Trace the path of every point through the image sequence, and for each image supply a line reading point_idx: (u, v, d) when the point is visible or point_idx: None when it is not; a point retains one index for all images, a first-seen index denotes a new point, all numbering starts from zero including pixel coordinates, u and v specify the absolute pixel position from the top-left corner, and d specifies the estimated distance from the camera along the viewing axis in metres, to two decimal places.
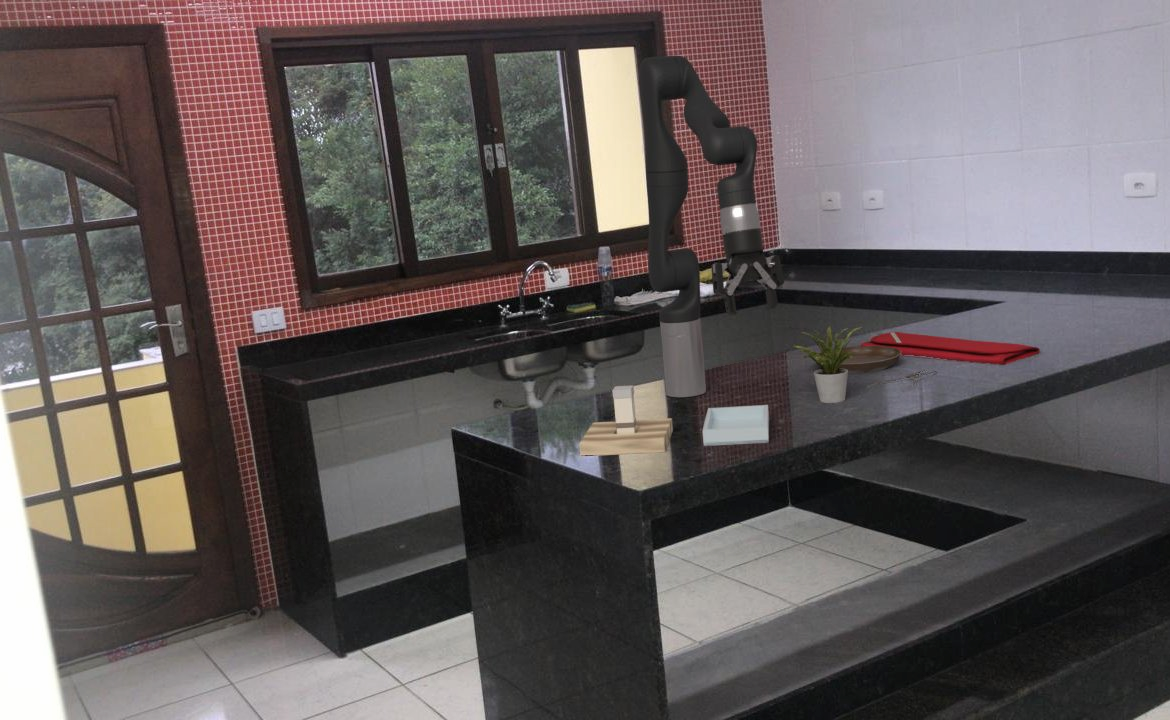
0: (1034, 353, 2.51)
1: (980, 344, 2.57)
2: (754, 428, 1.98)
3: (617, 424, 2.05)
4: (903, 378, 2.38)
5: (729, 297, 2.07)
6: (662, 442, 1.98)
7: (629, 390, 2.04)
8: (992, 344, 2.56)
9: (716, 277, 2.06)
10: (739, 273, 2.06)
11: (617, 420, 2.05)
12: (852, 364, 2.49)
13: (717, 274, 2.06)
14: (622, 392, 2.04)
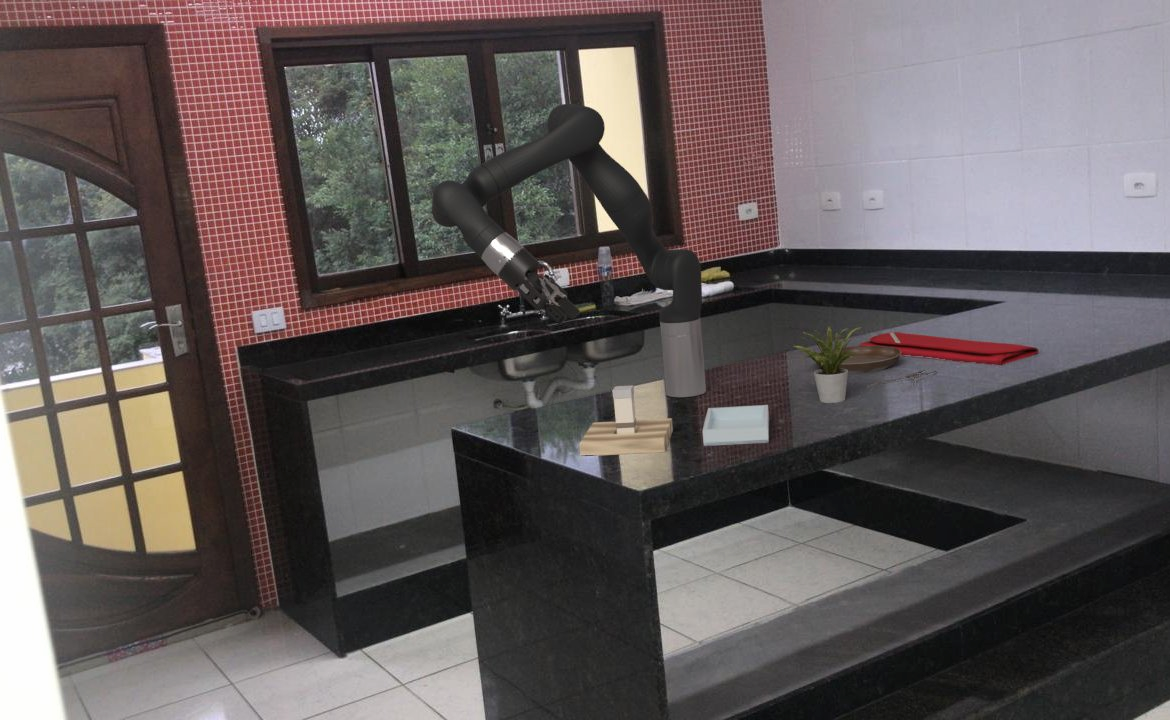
0: (1033, 353, 2.51)
1: (979, 344, 2.57)
2: (754, 428, 1.98)
3: (617, 424, 2.05)
4: (903, 378, 2.38)
5: None
6: (662, 442, 1.98)
7: (629, 390, 2.04)
8: (991, 344, 2.55)
9: None
10: None
11: (617, 420, 2.05)
12: (852, 364, 2.49)
13: None
14: (622, 392, 2.04)
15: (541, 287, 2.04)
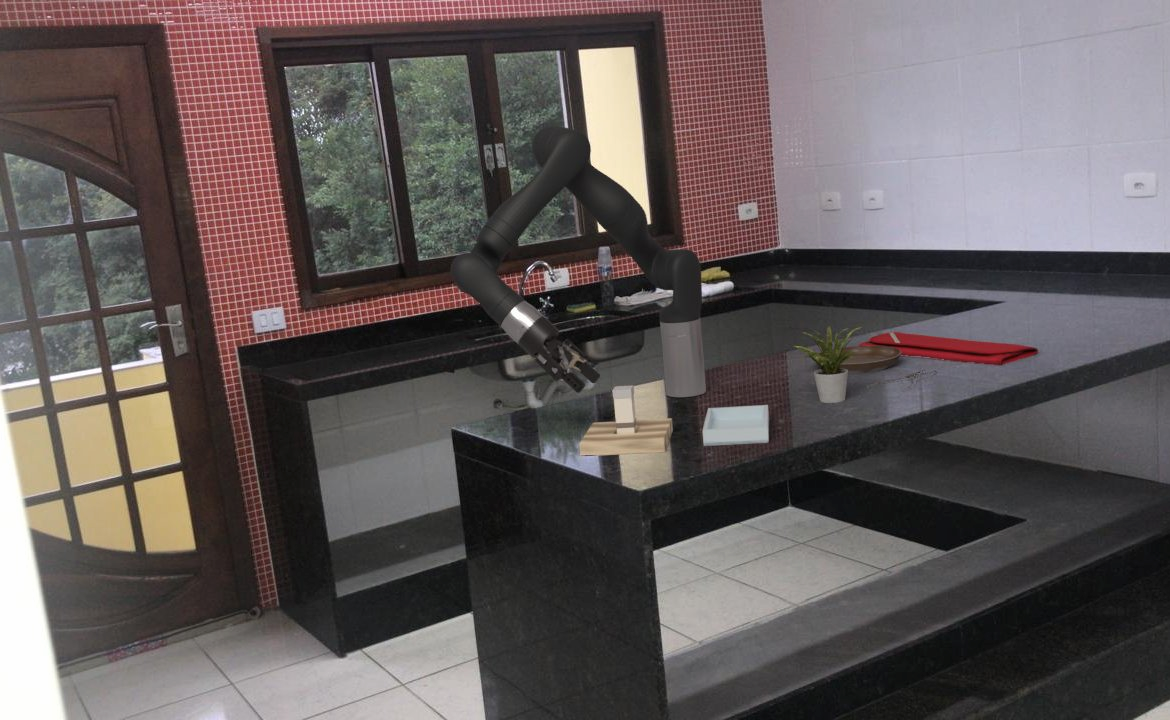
0: (1032, 353, 2.51)
1: (978, 344, 2.56)
2: (754, 428, 1.98)
3: (617, 424, 2.05)
4: (903, 378, 2.38)
5: None
6: (662, 442, 1.98)
7: (629, 390, 2.04)
8: (990, 344, 2.55)
9: None
10: None
11: (617, 420, 2.05)
12: (852, 364, 2.49)
13: None
14: (622, 392, 2.04)
15: (559, 356, 2.06)
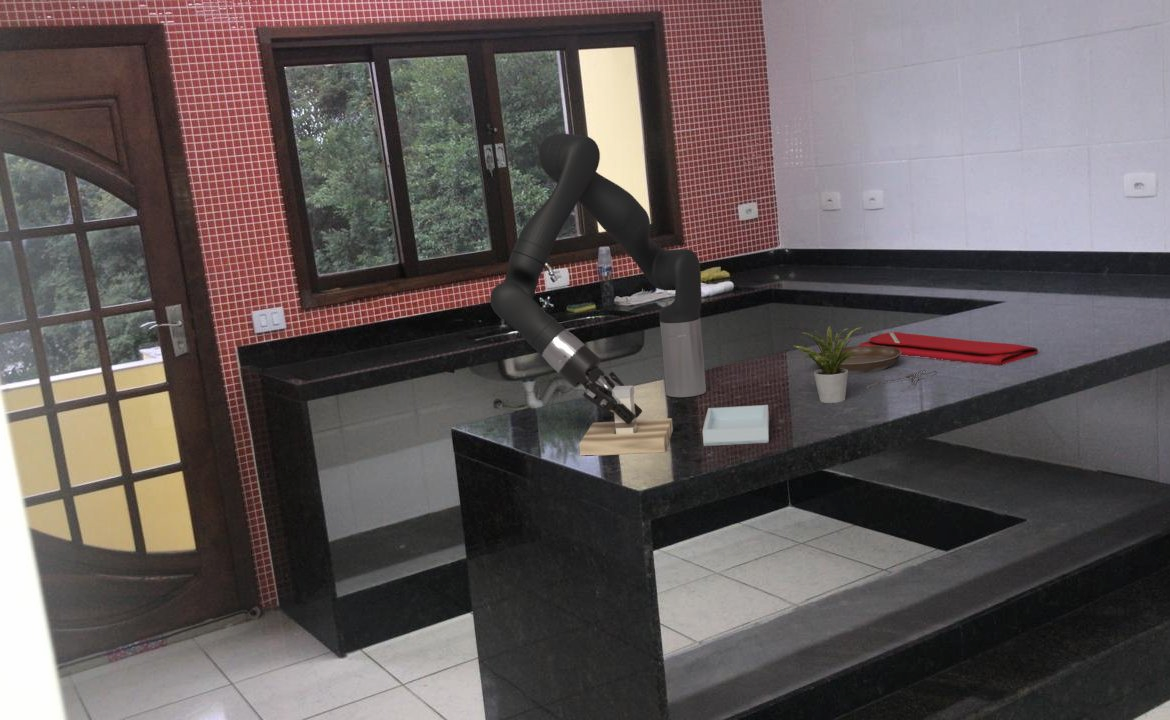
0: (1032, 353, 2.51)
1: (978, 344, 2.56)
2: (754, 428, 1.98)
3: (616, 424, 2.06)
4: (903, 378, 2.38)
5: None
6: (662, 442, 1.98)
7: (628, 390, 2.04)
8: (990, 344, 2.55)
9: None
10: None
11: (616, 420, 2.05)
12: (852, 364, 2.49)
13: None
14: (621, 392, 2.04)
15: (605, 387, 2.04)
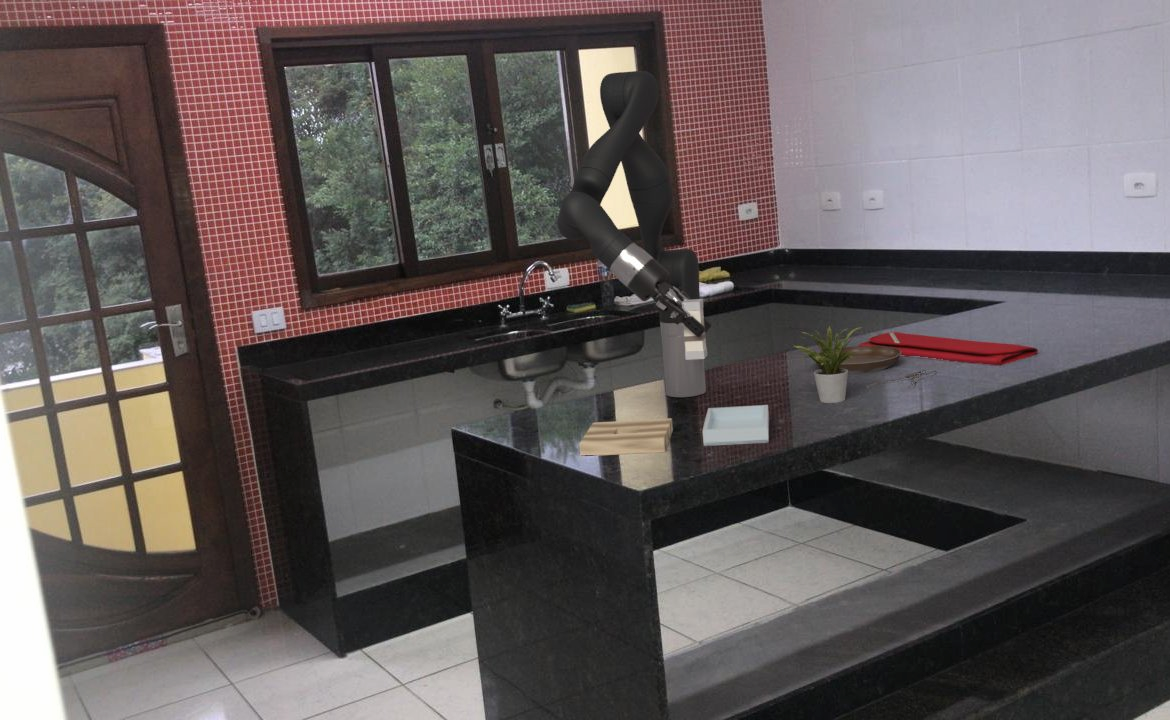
0: (1032, 354, 2.51)
1: (978, 345, 2.56)
2: (754, 428, 1.98)
3: (685, 337, 2.03)
4: (903, 378, 2.38)
5: None
6: (662, 442, 1.98)
7: (698, 302, 2.01)
8: (990, 345, 2.55)
9: None
10: None
11: (685, 333, 2.03)
12: (852, 364, 2.49)
13: None
14: (690, 304, 2.02)
15: (675, 299, 2.02)
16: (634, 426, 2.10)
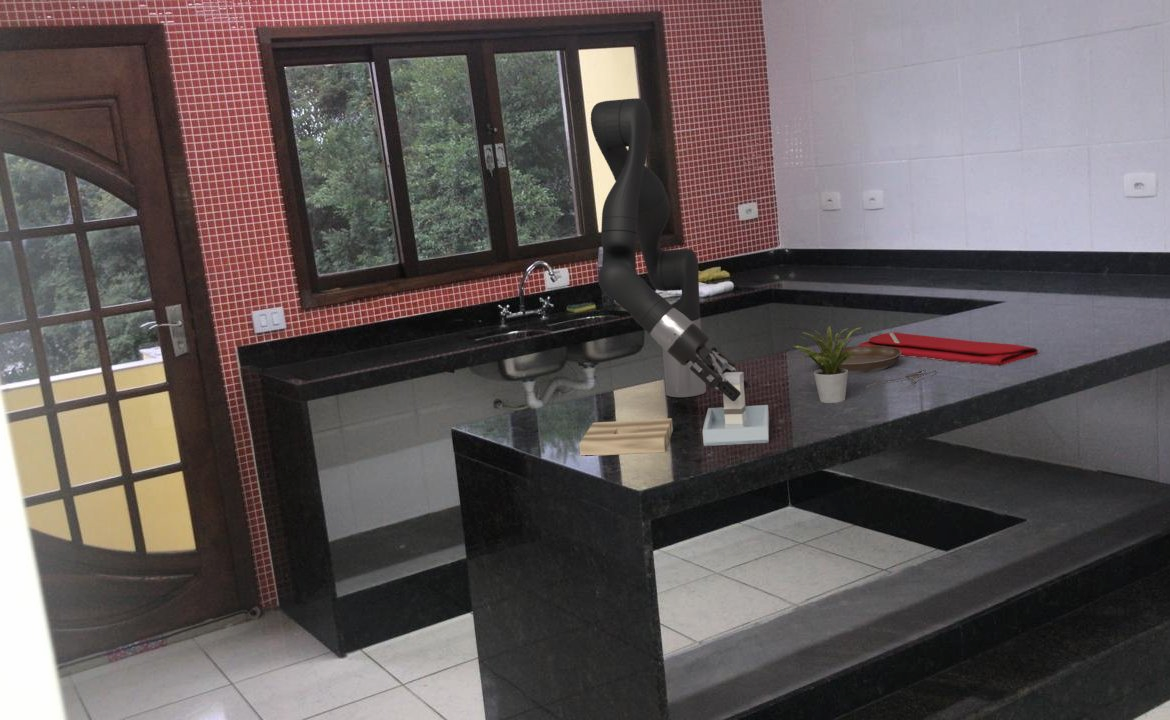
0: (1032, 354, 2.51)
1: (978, 345, 2.56)
2: (754, 428, 1.98)
3: (725, 410, 2.05)
4: (902, 378, 2.39)
5: None
6: (662, 442, 1.98)
7: (737, 376, 2.03)
8: (990, 345, 2.55)
9: None
10: None
11: (725, 406, 2.05)
12: (852, 364, 2.49)
13: None
14: (730, 378, 2.04)
15: (713, 363, 2.04)
16: (634, 426, 2.10)
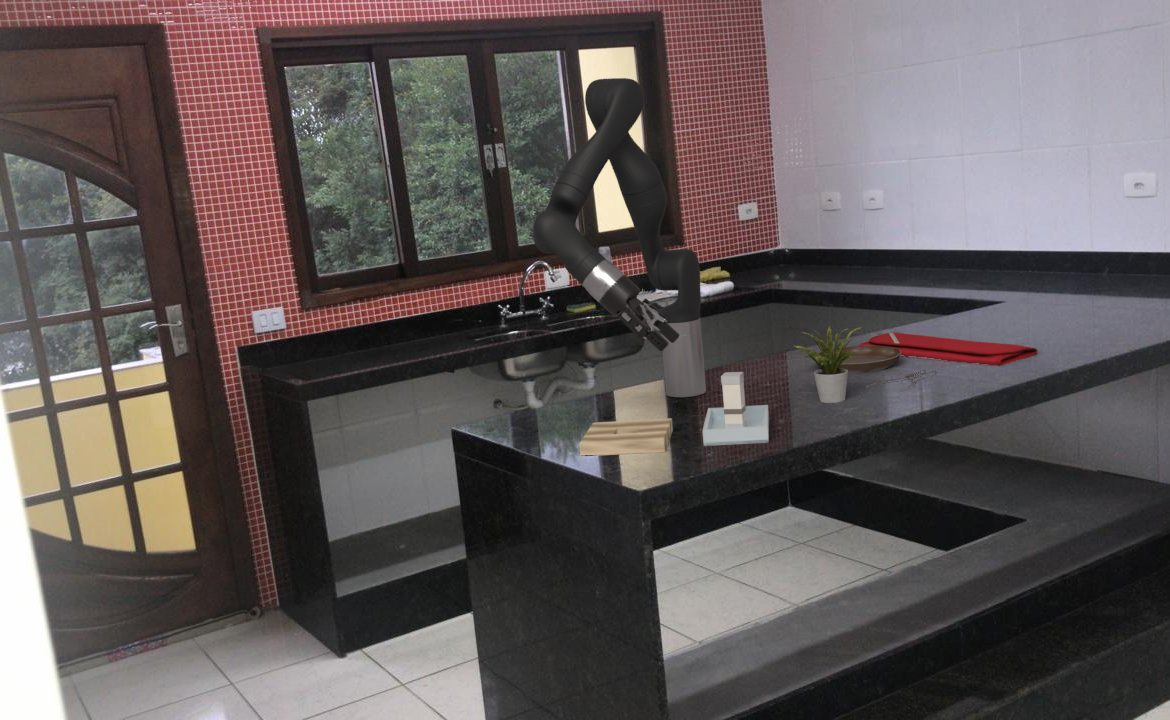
0: (1032, 354, 2.51)
1: (978, 345, 2.56)
2: (754, 428, 1.98)
3: (725, 410, 2.05)
4: (902, 378, 2.39)
5: None
6: (662, 442, 1.98)
7: (737, 376, 2.03)
8: (990, 345, 2.55)
9: None
10: None
11: (725, 406, 2.05)
12: (852, 364, 2.49)
13: None
14: (730, 378, 2.04)
15: (642, 314, 2.07)
16: (634, 426, 2.10)
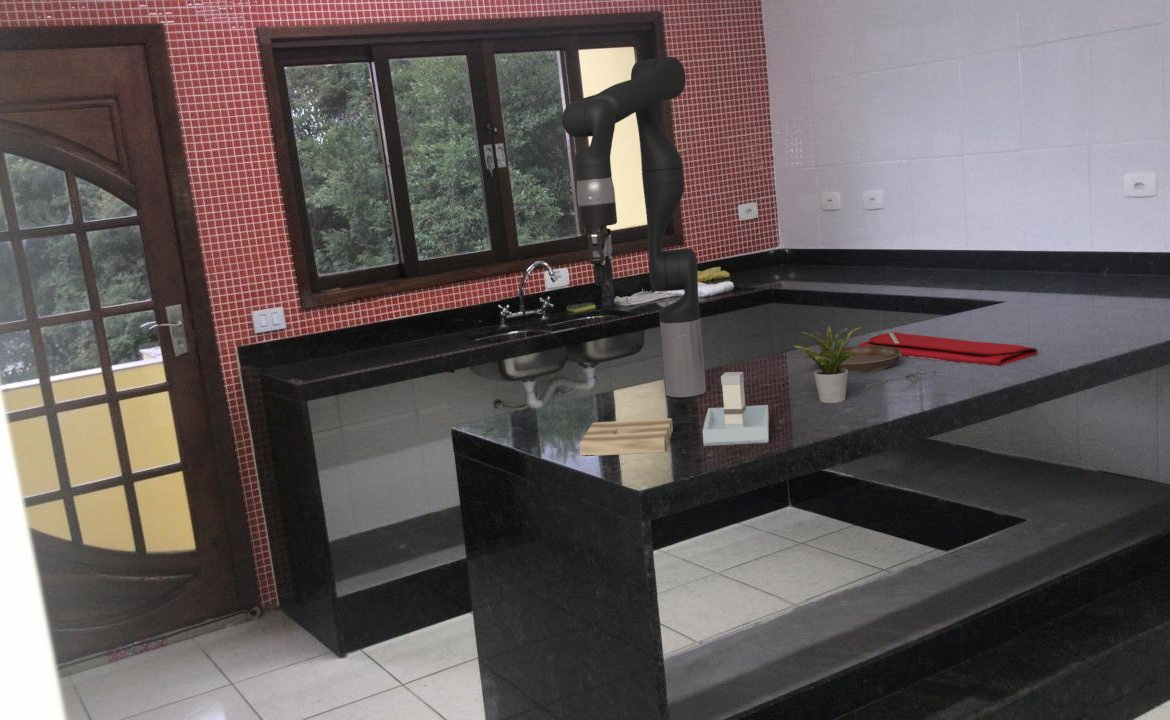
0: (1032, 354, 2.50)
1: (978, 345, 2.56)
2: (754, 428, 1.98)
3: (725, 410, 2.05)
4: (902, 378, 2.39)
5: None
6: (662, 442, 1.98)
7: (737, 376, 2.03)
8: (990, 345, 2.55)
9: None
10: None
11: (725, 406, 2.05)
12: (852, 364, 2.49)
13: None
14: (730, 378, 2.04)
15: (605, 245, 2.12)
16: (634, 426, 2.10)
